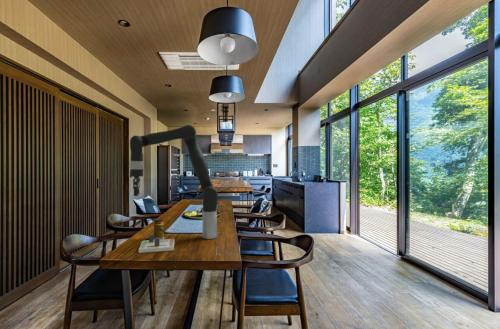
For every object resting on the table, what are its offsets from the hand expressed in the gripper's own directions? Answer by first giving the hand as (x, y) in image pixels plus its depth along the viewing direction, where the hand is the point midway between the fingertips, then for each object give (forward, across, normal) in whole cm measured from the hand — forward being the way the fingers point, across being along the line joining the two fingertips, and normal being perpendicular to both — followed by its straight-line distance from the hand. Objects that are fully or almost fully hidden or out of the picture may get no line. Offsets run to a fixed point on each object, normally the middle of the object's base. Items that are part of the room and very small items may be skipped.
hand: (136, 195), depth 158 cm
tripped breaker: (+26, -18, -12) cm, 34 cm away
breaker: (+26, -9, -9) cm, 29 cm away
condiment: (+29, +6, -12) cm, 32 cm away
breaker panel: (+29, -14, -13) cm, 34 cm away
